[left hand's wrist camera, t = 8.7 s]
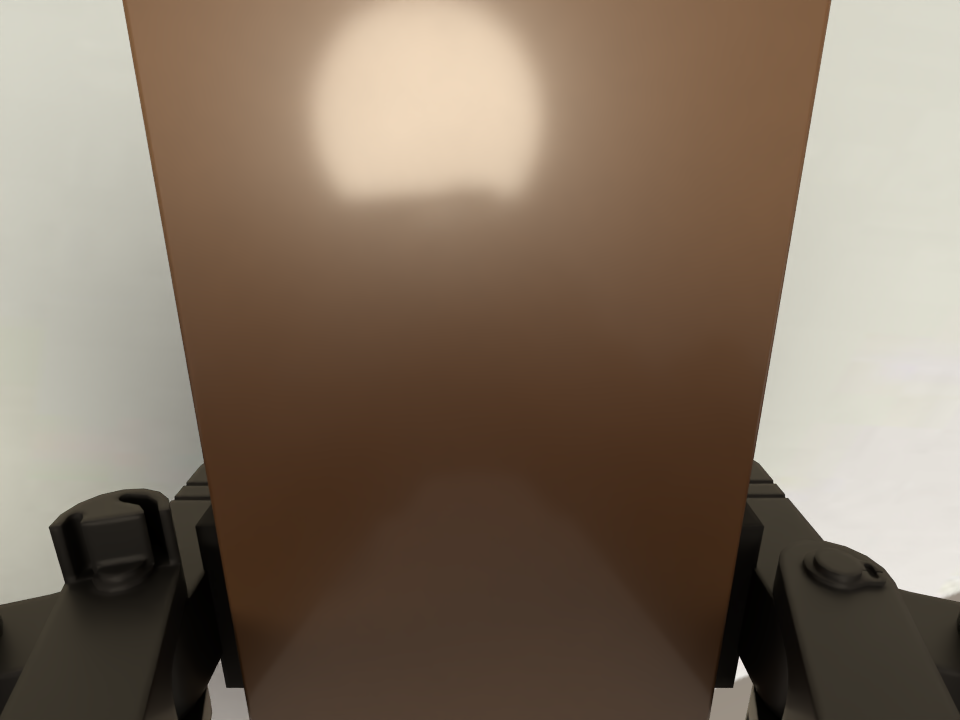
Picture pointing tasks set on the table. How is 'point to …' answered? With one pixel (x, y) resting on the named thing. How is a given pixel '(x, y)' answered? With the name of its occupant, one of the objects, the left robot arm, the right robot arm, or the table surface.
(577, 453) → the thick board
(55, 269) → the table surface
